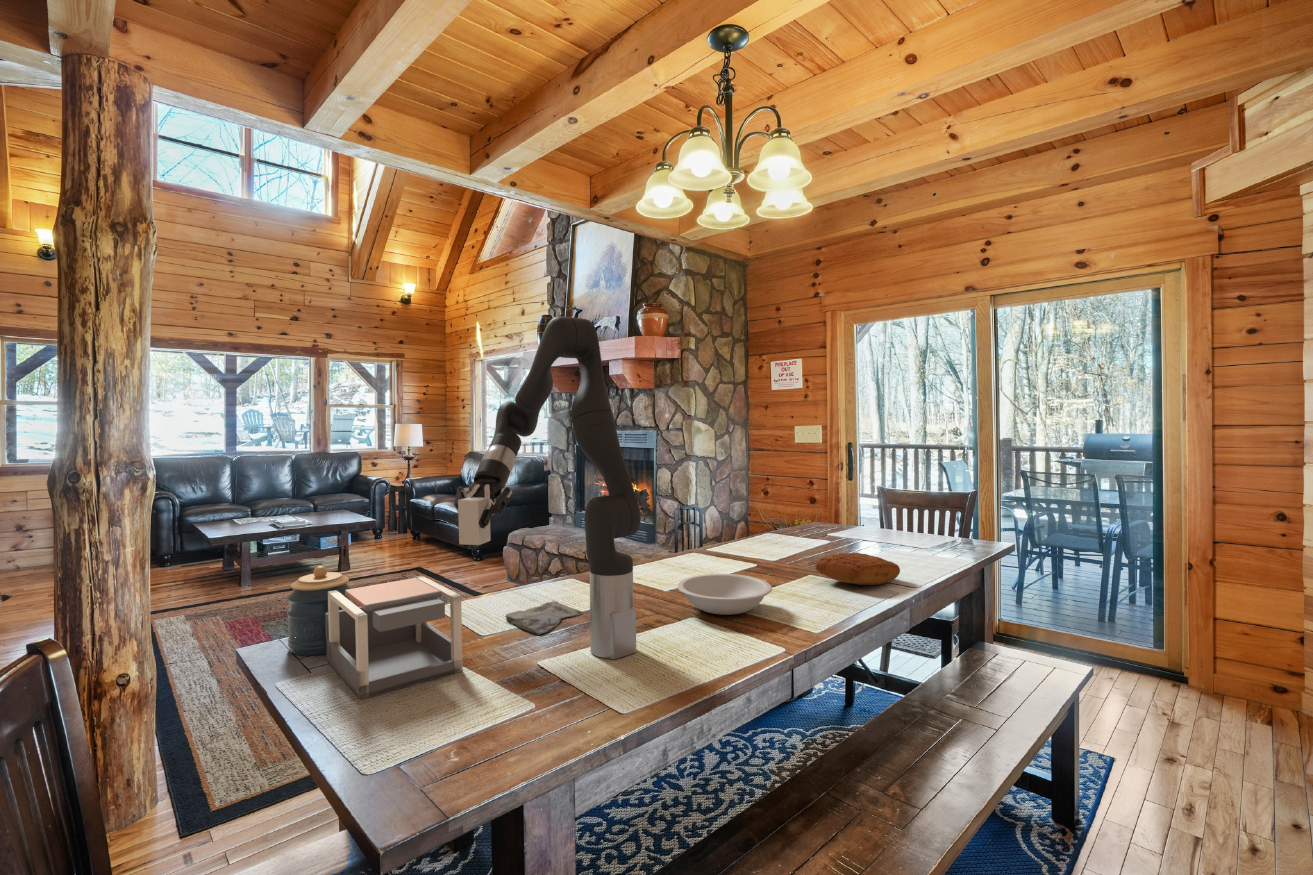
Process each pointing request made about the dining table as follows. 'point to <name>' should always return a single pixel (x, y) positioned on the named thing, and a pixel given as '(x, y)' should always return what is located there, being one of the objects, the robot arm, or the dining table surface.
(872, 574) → the bread loaf
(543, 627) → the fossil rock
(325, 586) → the canister
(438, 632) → the frame
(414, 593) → the trapdoor
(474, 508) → the beige rectangular block
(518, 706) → the dining table surface
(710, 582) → the soup bowl
